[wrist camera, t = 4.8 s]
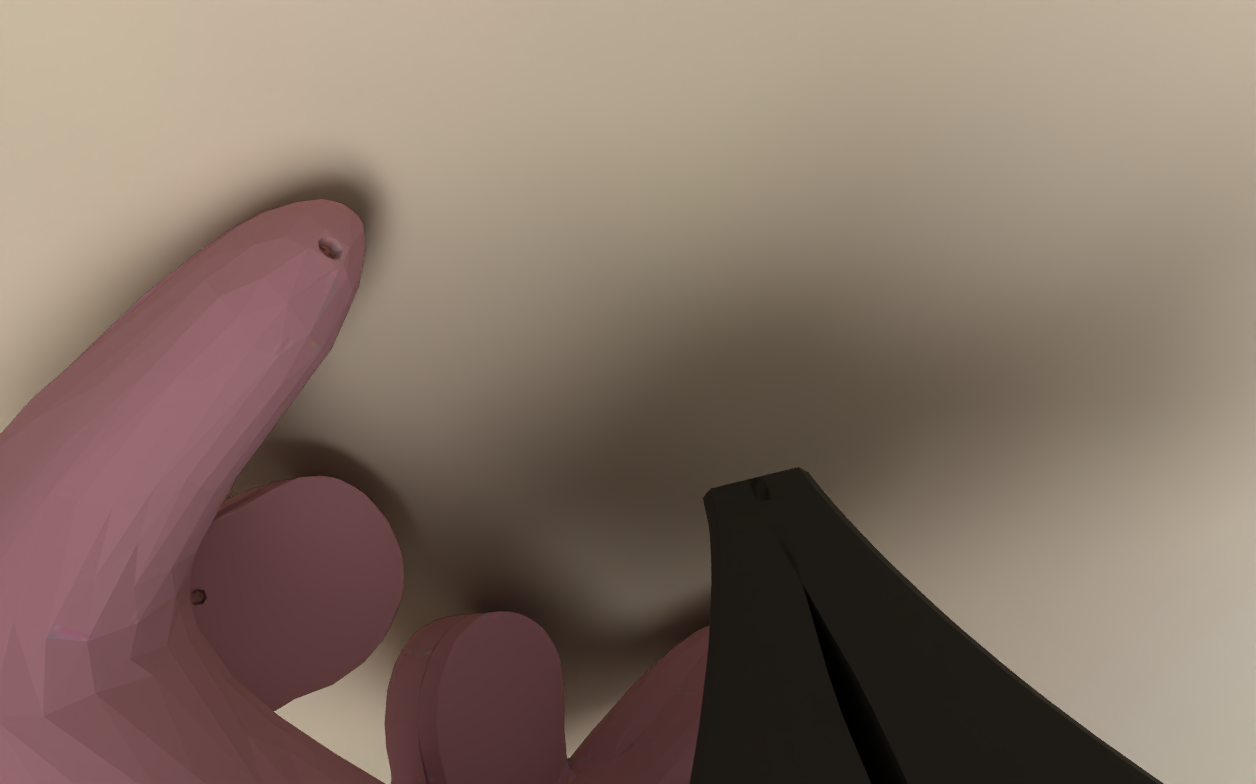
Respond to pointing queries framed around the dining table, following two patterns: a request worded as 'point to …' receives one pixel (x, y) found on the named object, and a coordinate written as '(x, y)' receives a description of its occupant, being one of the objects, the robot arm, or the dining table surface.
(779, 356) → the dining table surface
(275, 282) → the video game controller
